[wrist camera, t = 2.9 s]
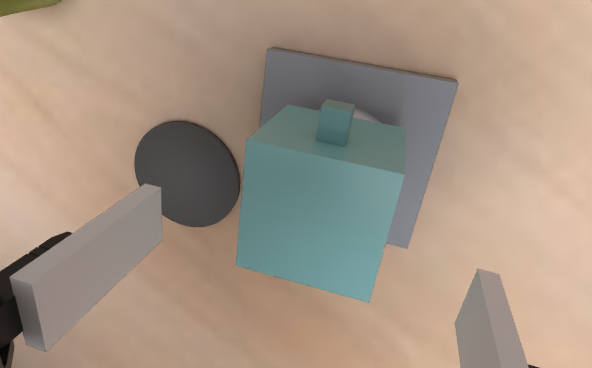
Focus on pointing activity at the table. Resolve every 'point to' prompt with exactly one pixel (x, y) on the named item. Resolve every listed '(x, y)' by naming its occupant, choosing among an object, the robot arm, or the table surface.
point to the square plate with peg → (369, 112)
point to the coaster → (188, 173)
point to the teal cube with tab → (320, 197)
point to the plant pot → (23, 5)
